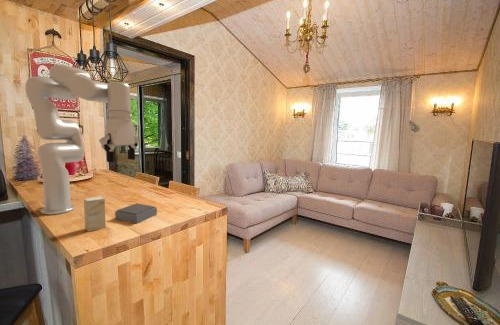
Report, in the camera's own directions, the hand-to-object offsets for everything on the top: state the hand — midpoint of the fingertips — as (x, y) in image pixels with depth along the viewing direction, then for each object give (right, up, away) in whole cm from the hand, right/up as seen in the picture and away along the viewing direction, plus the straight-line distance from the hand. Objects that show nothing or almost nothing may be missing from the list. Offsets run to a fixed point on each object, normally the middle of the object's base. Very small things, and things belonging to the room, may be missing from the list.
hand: (121, 160), depth 93 cm
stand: (-1, -25, +15) cm, 30 cm away
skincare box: (-11, -27, +2) cm, 29 cm away
